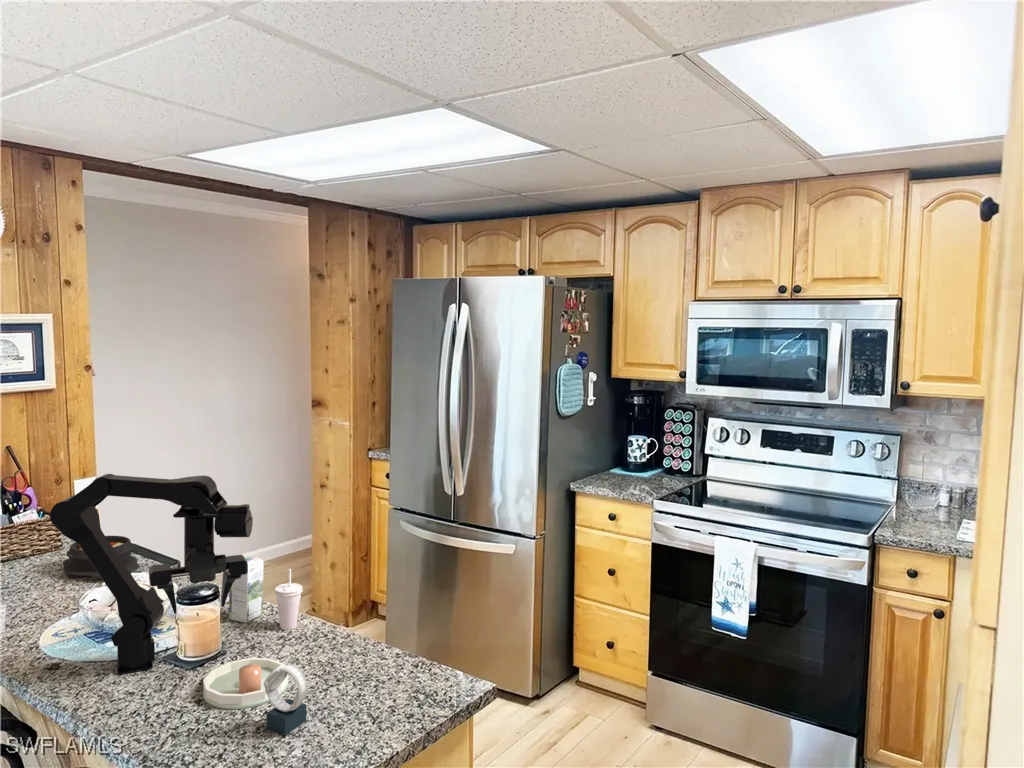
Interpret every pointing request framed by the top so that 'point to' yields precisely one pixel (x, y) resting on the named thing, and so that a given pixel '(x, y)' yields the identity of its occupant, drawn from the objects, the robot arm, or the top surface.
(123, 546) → the casserole
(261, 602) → the syrup box
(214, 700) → the groove tray
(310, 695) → the top surface
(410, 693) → the top surface
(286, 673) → the watch
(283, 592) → the smoothie
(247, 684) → the bead
